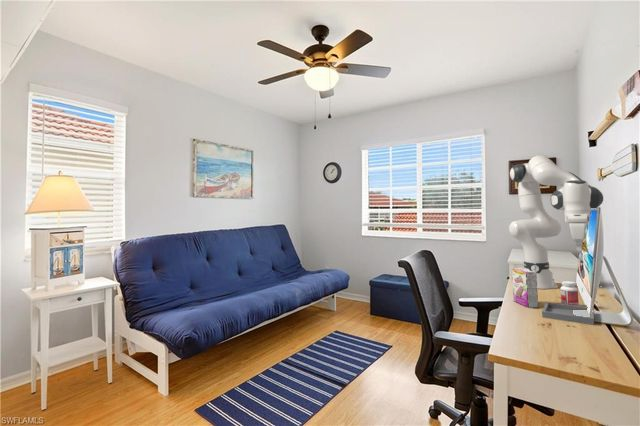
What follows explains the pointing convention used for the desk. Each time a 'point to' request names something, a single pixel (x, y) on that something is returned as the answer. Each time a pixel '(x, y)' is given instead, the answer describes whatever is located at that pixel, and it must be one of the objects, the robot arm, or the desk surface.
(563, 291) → the pill bottle
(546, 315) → the grey tray
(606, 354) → the desk surface
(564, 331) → the desk surface
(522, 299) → the candy bar box
